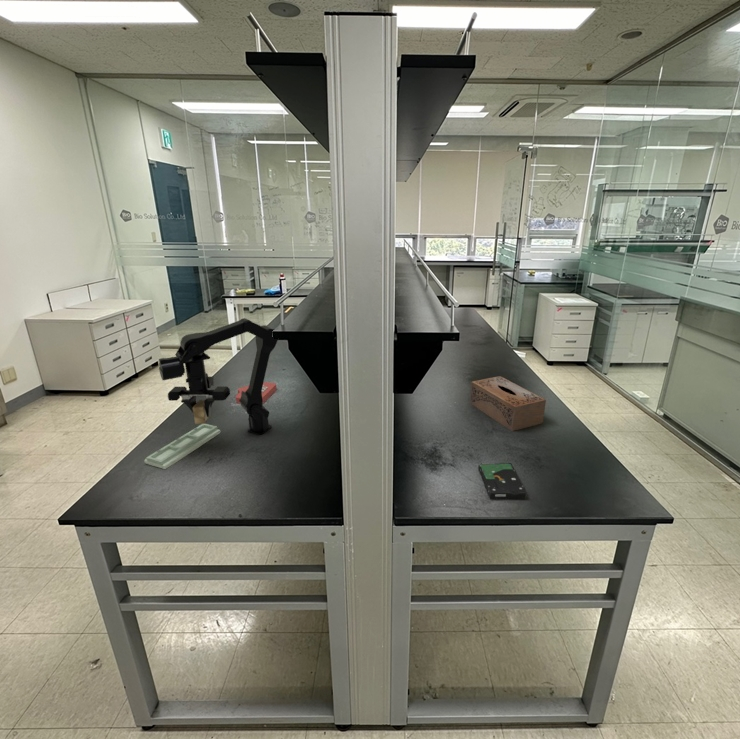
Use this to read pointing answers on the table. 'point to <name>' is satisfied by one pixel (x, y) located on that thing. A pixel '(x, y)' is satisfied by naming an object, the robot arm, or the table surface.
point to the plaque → (266, 391)
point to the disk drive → (501, 481)
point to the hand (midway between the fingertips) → (203, 416)
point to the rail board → (182, 446)
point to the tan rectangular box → (200, 413)
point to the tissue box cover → (507, 403)
